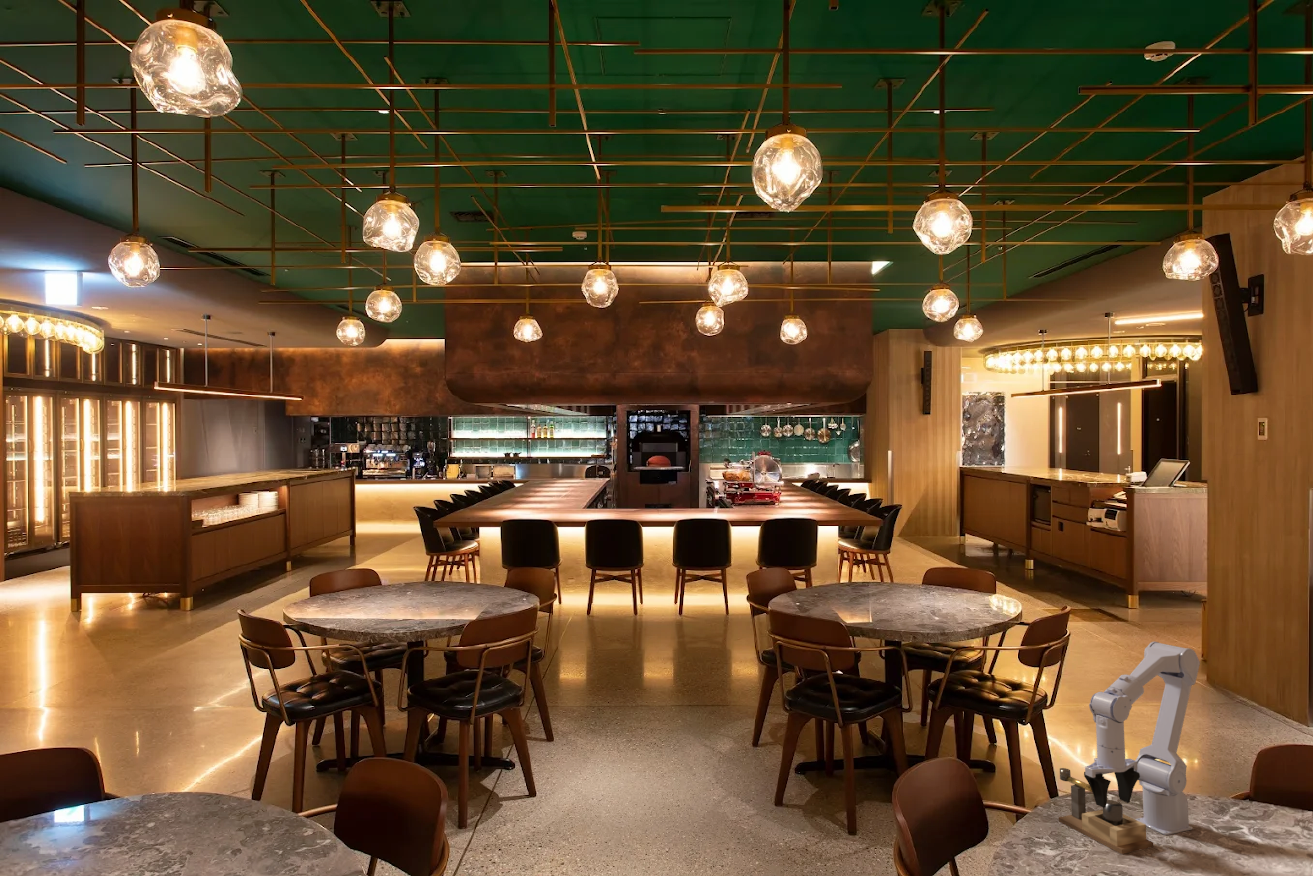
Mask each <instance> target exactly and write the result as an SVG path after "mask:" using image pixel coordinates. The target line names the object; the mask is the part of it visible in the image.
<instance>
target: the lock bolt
mask: <svg viewBox="0 0 1313 876" xmlns="http://www.w3.org/2000/svg"><path fill="white" fill-rule="evenodd" d="M1059 779H1060V781H1063V782H1069V783H1071V784H1072V785H1077V786H1079V787H1081V788H1084V789H1085V791H1087V792H1090V793H1093V792H1092V789H1091V787H1090V785H1089V783H1086V782H1084V781H1082V780H1079V779H1078V778H1075V777H1073V776H1071V770H1070V769H1069V768H1066V767H1060V768H1059Z"/></svg>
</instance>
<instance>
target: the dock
mask: <svg viewBox="0 0 1313 876" xmlns="http://www.w3.org/2000/svg"><path fill="white" fill-rule="evenodd" d="M1070 796H1071V797H1070V798H1071V799H1070V800H1071V802H1070V803H1071V814H1069V815H1063V816H1059V817H1058V822H1059V823H1061V824H1062V825H1065V826H1066V827H1069V828H1070V829H1072V830H1075V831H1077V832H1078V833H1080V834H1082V835H1084V836H1086V837H1088V838H1090V839H1092V840H1094V841H1096V842H1097V843H1099V844H1101V845H1104V846H1105V847H1107V848H1109V849H1111V850H1112V851H1115V852H1117V853H1119V854H1121V855H1123V854H1128V853H1133V852H1138V851H1143V850H1147V849H1150V848H1154V842H1153V841H1152V840H1149V839H1148V838H1147V826H1146V824H1144V823H1141V822H1139V821H1137V820H1135V819H1136V818H1135V819H1134V818H1133V817H1130V816H1128V815H1127V814H1124V813H1123V825H1118V826H1114V825H1112V824H1110V823H1108V822H1106V821H1104V820H1103V808H1101V809H1097V810H1094V811H1093V810H1092V811H1087V810H1086V809H1087V808H1086V807H1087V805H1086V802H1087V801H1086V789H1084V788H1081V787H1079V786H1077V785H1075V784H1072V785H1070Z"/></svg>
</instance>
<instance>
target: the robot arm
mask: <svg viewBox="0 0 1313 876" xmlns="http://www.w3.org/2000/svg"><path fill="white" fill-rule="evenodd" d="M1143 653H1144V654H1143V659H1142V660H1141V661H1140V663H1138V665H1136V667H1135V668H1134V669H1133V670H1132V672H1131V673H1130V674H1121V675H1120V676H1119V677H1118V678H1116V680H1115V681H1114V682H1113V683H1111V684H1110V685H1109V687H1107V688H1106V689H1105V690H1104V691H1098V692H1096V693H1094V694H1093V695H1092V696H1091V699H1090V701H1089V705H1088V706H1089V710H1090V713H1092V720H1093V721H1094V723H1095V730H1096V732H1095V733H1096V735H1095V736H1096V754H1097V755H1096V756H1097V757H1095V758H1094V760H1093V762H1092V763H1091V764H1089V765H1086V766H1085V767H1084V770H1085V771H1084V773H1083V777H1084V778H1085V780H1086V781H1087V784H1089V785H1090V787H1091V789H1092V792H1091V793H1092V796H1093V797H1094V800H1095V801H1094V802H1095V804H1096V806H1098V807H1101V808H1102V809H1103V808H1105V807H1106V804H1107V800H1108V790H1109V787H1110V785H1111V780H1110V779H1107V778H1105V776H1104V775H1106V774H1113V773H1114V775H1115V779H1116V783H1117V784H1116V785H1117V792H1118V793H1117V794H1118V798H1119V800H1120V801H1122V802H1125V803H1127V804H1128V803H1129V804H1130V802H1131V798H1132V794H1133V791H1134V788H1135V785H1136V784H1137V782H1138V783H1139V784H1138V785H1140V786H1142V807H1143V809H1142V810H1143V817H1140V818H1139V817H1138V818H1135V820H1137V821H1139V822H1141V823H1144V824H1146V828H1149V829H1151V830H1153V831H1156V832H1157V833H1160V834H1162V835H1165V836H1168V835H1169V836H1170V835H1174V834H1177V833H1182V832H1186V831H1191V830H1193V826H1190V823H1189V822H1190V820H1189V801H1188V798H1187V796H1186V794H1185V793H1184V790H1185V789H1186V786H1187V766H1188V765H1187V764H1186V763H1185V761H1183V760H1182V758H1181V757H1180V756H1179V755H1178V748H1179V743H1180V738H1181V734H1182V731H1183V727H1184V721H1185V718H1186V717H1185V716H1186V712H1187V707H1188V703H1189V698H1190V694H1191V692H1192V690H1191V689H1192V686H1194V685H1195V684H1196V681H1197V679H1198V673H1199V669H1200V664H1201V661H1200V659H1199V658H1198V657H1199V656H1198V655H1197V653H1196V651H1195V650H1194V649H1192V648H1189V647H1186V648H1185V647H1182V646H1175V645H1172V644H1166V643H1163V642H1162V643H1161V642H1159V641H1151V642H1149V644H1148V645H1147V646H1146V647H1145V648H1144V652H1143ZM1157 676H1158V677H1160V678H1161V679H1162V680H1163V682H1164V689H1163V692H1162V698H1161V701H1160V702H1161V703H1160V707H1159V711H1158V715H1157V720H1156V724H1155V727H1154V732H1153V736H1152V741H1151V744H1150V745H1147V746H1144V747H1142V748H1140V749H1139V752H1138V756H1136V758H1135V760H1134V759H1131V758H1126V745H1125V744H1126V743H1125V741H1126V740H1125V721H1127V720H1128V718H1129V715H1130V711H1131V710H1132V707H1133V704H1135V702H1136V701H1138V699H1140V698H1141V696H1143V694H1145V693H1144V692H1145V688H1144V686H1145V685H1147V684H1148V683H1149V682H1151V681H1152V680H1153V679H1155V678H1156V677H1157Z"/></svg>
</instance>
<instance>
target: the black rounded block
mask: <svg viewBox="0 0 1313 876" xmlns="http://www.w3.org/2000/svg"><path fill="white" fill-rule="evenodd" d="M1102 809H1103V820H1104V821H1106V822H1108V823H1110V824H1112V825H1114V826H1118V825H1123V814H1124V813H1123V804H1122V803H1120V802H1118V801H1116V800H1111V799H1107V804H1106V807H1105V808H1103V807H1102Z"/></svg>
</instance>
